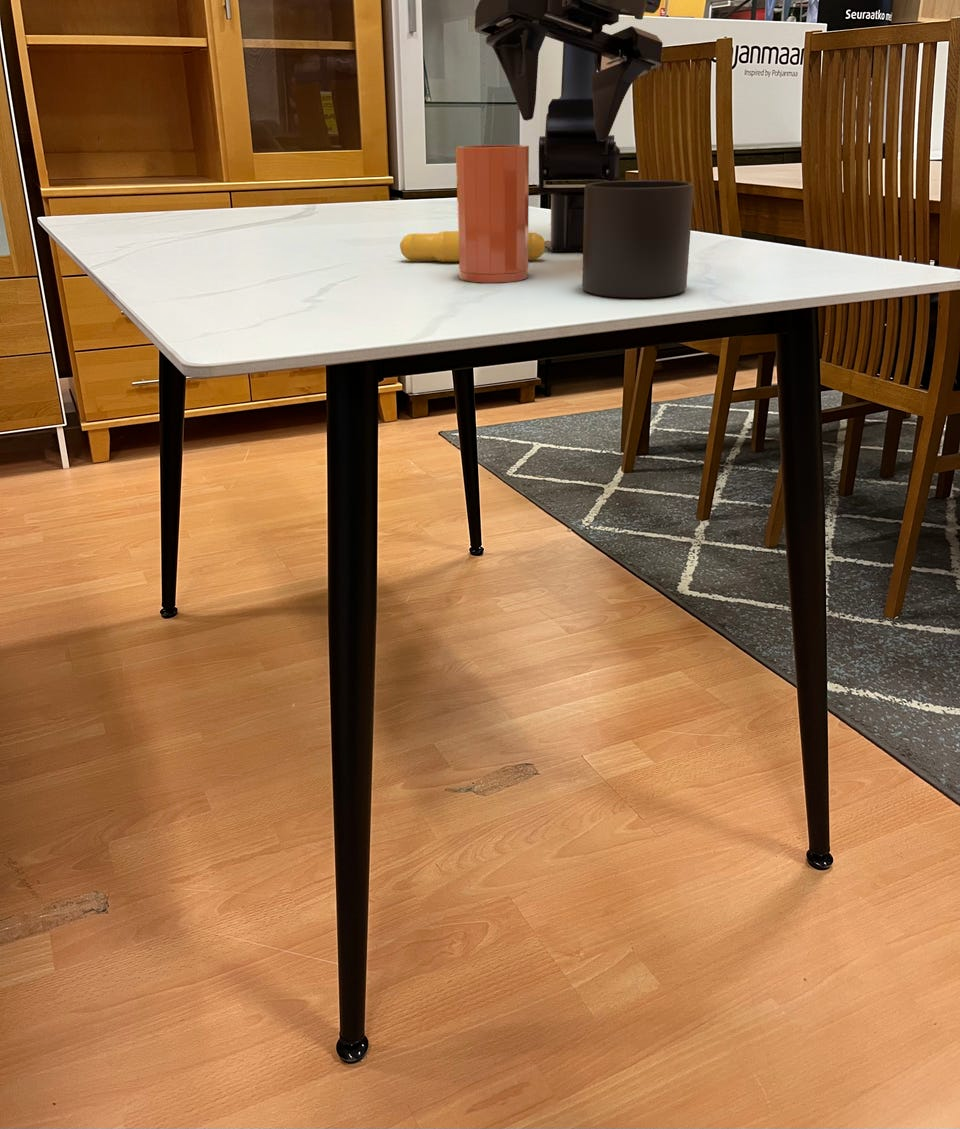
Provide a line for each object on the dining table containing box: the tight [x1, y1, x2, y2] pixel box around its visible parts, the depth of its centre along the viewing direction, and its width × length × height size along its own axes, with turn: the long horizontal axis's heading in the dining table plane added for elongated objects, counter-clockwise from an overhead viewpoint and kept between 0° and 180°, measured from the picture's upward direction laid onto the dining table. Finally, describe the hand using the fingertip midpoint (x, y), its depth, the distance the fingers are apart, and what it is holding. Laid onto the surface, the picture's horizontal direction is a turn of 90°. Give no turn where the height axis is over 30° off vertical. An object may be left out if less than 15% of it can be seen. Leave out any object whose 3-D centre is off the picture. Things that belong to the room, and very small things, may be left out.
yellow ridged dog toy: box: [399, 230, 546, 263], centre depth 105 cm, size 16×4×3 cm, turn 86°
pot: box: [455, 144, 530, 284], centre depth 93 cm, size 7×7×12 cm
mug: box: [581, 179, 695, 299], centre depth 87 cm, size 9×12×9 cm
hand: (566, 130), depth 91 cm, fingers open, 9 cm apart
